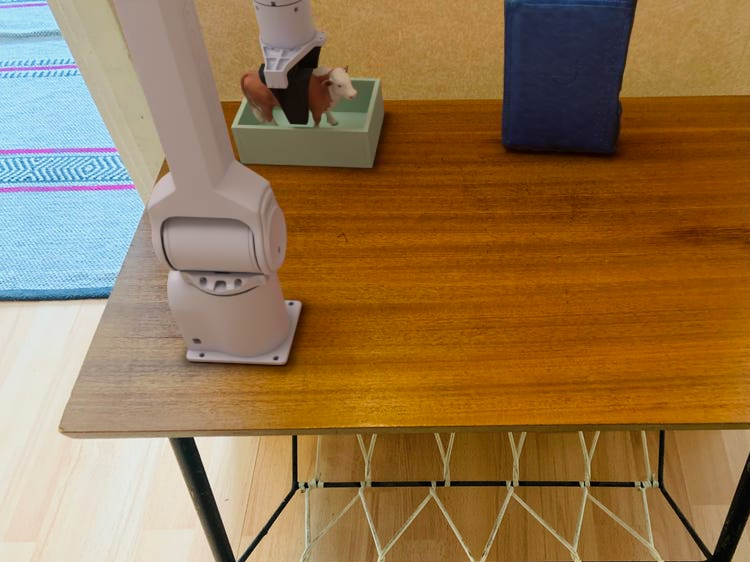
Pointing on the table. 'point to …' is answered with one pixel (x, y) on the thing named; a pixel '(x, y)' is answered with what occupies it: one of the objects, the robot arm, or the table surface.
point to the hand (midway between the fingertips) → (303, 110)
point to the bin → (315, 133)
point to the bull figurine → (322, 94)
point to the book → (564, 73)
